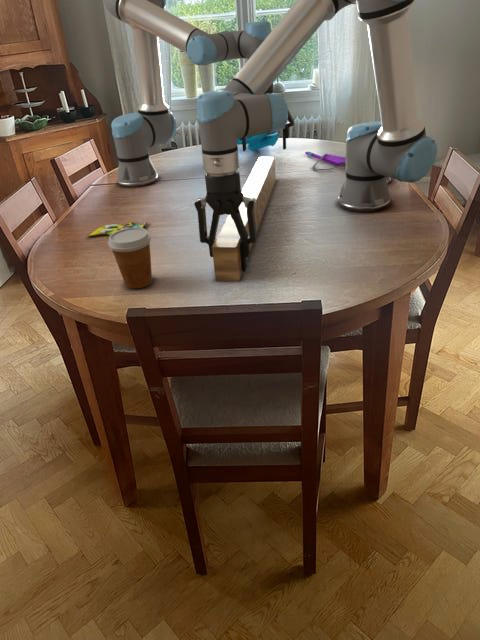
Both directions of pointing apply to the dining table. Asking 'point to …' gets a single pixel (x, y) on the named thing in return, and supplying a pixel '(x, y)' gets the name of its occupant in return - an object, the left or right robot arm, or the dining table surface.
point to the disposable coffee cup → (132, 255)
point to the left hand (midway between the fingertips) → (264, 149)
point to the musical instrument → (328, 159)
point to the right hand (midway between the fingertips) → (231, 268)
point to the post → (228, 238)
